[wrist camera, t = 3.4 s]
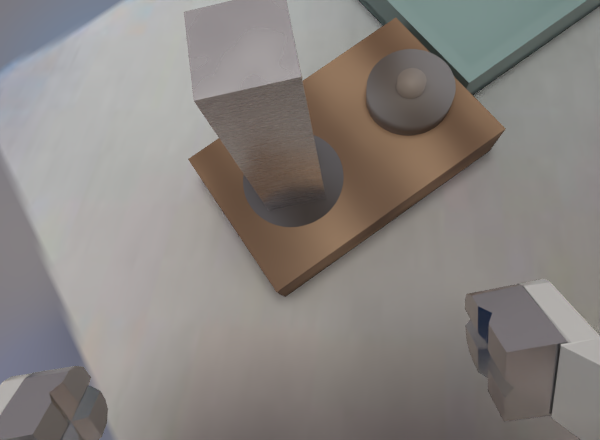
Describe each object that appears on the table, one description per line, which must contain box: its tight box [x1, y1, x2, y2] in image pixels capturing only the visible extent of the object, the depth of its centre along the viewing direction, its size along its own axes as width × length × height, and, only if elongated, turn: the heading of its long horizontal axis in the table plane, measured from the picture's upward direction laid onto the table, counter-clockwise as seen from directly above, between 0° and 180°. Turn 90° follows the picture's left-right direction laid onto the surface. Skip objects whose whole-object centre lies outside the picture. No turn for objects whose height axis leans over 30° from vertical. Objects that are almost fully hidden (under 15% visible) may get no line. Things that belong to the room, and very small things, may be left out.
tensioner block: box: [188, 18, 505, 297], centre depth 26 cm, size 16×10×5 cm, turn 125°
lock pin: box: [184, 0, 326, 210], centre depth 19 cm, size 3×3×12 cm
